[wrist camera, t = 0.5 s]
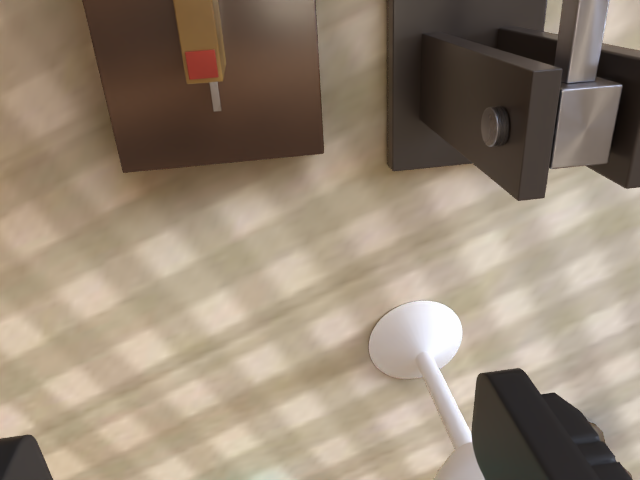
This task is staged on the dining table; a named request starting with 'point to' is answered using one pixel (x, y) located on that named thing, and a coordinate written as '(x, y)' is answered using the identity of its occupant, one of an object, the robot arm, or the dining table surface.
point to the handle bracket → (492, 92)
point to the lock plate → (209, 84)
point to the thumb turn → (200, 40)
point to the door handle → (583, 88)
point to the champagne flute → (427, 370)
